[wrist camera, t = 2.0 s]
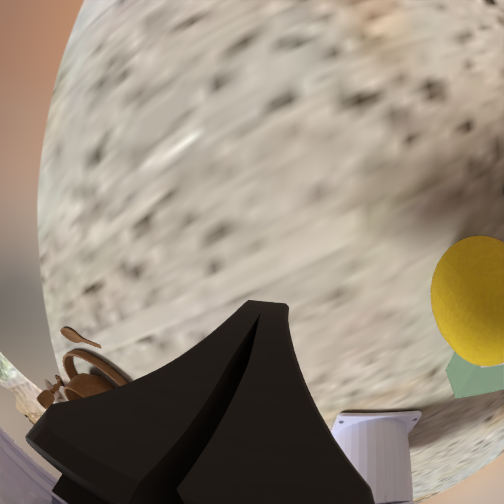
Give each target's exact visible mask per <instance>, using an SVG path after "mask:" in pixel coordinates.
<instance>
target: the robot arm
mask: <svg viewBox="0 0 504 504" xmlns="http://www.w3.org/2000/svg"><path fill="white" fill-rule="evenodd" d="M288 314H289V307H288V305H287V304H285V303H274V302H264V301H254V300H248V301H247V302H245V303H244V304H243V305H242V306H241V307H240V308H239V309H238V310H237V311H236V312H235V313H234V314H233V315H231V316H230V317H229V318H228V319H227V320H226V321H225V322H224V323H223V324H221V325H220V326H219V327H218V328H217V329H216V330H214V331H213V332H212V333H211V334H210V335H208V336H207V337H206V338H205V339H203V340H202V341H201V342H199V343H198V344H197V345H195V346H194V347H193V348H191V349H190V350H188V351H187V352H186V353H184V354H183V355H181V356H180V357H178V358H176V359H175V360H173V361H172V362H170V363H168V364H166V365H165V366H163V367H161V368H159V369H157V370H156V371H153V372H151V373H149V374H147V375H145V376H143V377H141V378H139V379H136V380H134V381H132V382H130V383H127V384H125V385H122V386H120V387H117V388H114V389H111V390H108V391H105V392H102V393H99V394H96V395H92V396H89V397H85V398H80V399H75V400H71V401H66V402H61V403H55V404H51V405H50V406H49V408H48V409H47V410H46V411H45V412H44V414H43V415H42V416H41V417H40V419H39V420H38V421H37V422H36V424H35V425H34V426H33V428H32V429H31V430H30V431H29V433H28V434H27V435H26V441H27V442H28V444H30V446H31V447H32V448H33V449H35V450H36V451H37V452H38V453H39V454H40V455H41V456H42V457H43V458H44V459H46V460H47V461H48V462H49V463H50V464H51V465H53V466H54V467H55V468H56V469H57V470H59V471H60V472H61V473H62V476H61V477H60V479H59V480H58V479H57V478H55V477H54V476H53V475H51V474H50V473H49V472H48V471H46V470H45V469H44V468H43V467H42V466H40V465H39V464H38V463H37V462H36V461H34V460H33V459H32V458H31V457H30V456H29V455H28V454H27V453H25V452H24V451H23V450H22V449H21V448H20V447H19V446H18V445H17V444H16V443H15V442H14V440H13V439H12V438H11V437H10V436H9V435H8V434H7V433H6V432H5V431H4V430H3V429H2V428H1V427H0V504H414V501H413V489H412V472H411V460H410V451H409V442H408V434H409V433H410V431H411V430H412V429H413V427H414V426H415V425H416V423H417V422H418V420H419V419H420V418H421V416H422V412H421V411H407V412H389V413H340V414H338V415H337V417H336V420H335V423H334V425H333V428H332V430H331V432H330V430H329V428H328V426H327V425H326V423H325V421H324V419H323V418H322V416H321V414H320V413H319V411H318V409H317V407H316V405H315V403H314V400H313V398H312V396H311V394H310V392H309V390H308V387H307V385H306V383H305V380H304V378H303V375H302V372H301V370H300V367H299V364H298V361H297V358H296V354H295V351H294V347H293V343H292V339H291V335H290V330H289V323H288Z"/></svg>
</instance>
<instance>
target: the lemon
mask: <svg viewBox="0 0 504 504" xmlns="http://www.w3.org/2000/svg"><path fill="white" fill-rule="evenodd" d="M431 304H432V310H433V314H434V317H435V320H436V323H437V326H438V328H439V330H440V332H441V334H442V335H443V337H444V338H445V340H446V341H447V342H448V344H449V345H450V346H451V347H452V349H453V350H454V351H455V352H456V353H457V354H458V355H459V356H460V357H462V358H463V359H465V360H466V361H468V362H470V363H472V364H475V365H478V366H494V365H499V364H502V363H504V242H502V241H500V240H498V239H495V238H491V237H487V236H471V237H467V238H465V239H463V240H460V241H458V242H457V243H455V244H454V245H452V246H451V247H450V248H449V249H448V250H447V251H446V252H445V253H444V255H443V256H442V258H441V259H440V261H439V262H438V264H437V266H436V269H435V272H434V274H433V278H432V284H431Z"/></svg>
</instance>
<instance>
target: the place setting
mask: <svg viewBox="0 0 504 504" xmlns="http://www.w3.org/2000/svg"><path fill="white" fill-rule="evenodd" d="M60 331H61V333H62V334H63V335H64V336H65V337H66V338H67V339H69V340H70V341H72V342H75V343H79V342H84V343H87V344H90V345H93V346H95V347H98V348H101V346H100V345H99V344H97V343H94V342H92V341H89V340H86V339H84V338H82V337H81V336H80V335H79V334H78V333H77V332H75V331H74V330H72V329H70V328H62V329H61V330H60ZM73 356H76V357H79V358H82V359H84V360H86V361H88V362H89V363H91V364H93V365H94V366H96V367H97V368H99V369H100V370H101V371H103V372H104V373H105V374H107V375H108V376H109V377H110V378H111V379H113V380H114V381H115V382H116V383H117V384H118V385H119V386H122V385H125V384H127V383H128V382H127V381H126V380H125V379H124V378H123V377H122V376H121V375H120V374H119V373H118V372H117V371H116V370H114V369H113V368H112V367H111V366H109V365H108V364H107V363H105V362H104V361H102V360H101V359H99V358H98V357H96V356H94V355H92V354H90V353H88V352H85V351H82V350H72V351H69V352H68V353H67V354H65V355H64V357H63V366H64V369H65V371H66V373H67V375H68V377H69V379H70V380H71V381H70V382H69V383H68V384H67V385H66V386H65V385H64V383H63V380H62V378H61V377H60V376H58V375H55V378H56V380H57V384H54V386H53V388H52V389H51V390H50V391H51V392H50V391H49V390H44V391H43V392H41V393H40V395H39V396H38V397H37V398H36V399H37V401H38V402H39V403H40V404H41V405H42V406H43V407H44V408H45V409H48V408H49V406H50V405H51V404H53V402H54V400H55V397H54V395H53V394H55V392H56V391H58V390H59V388H60V386H63V387H64V393H65V395H66V397H67V399H68V400H69V401H71V400H75V399H80V398H85V397H89V396H92V395H96V394H99V393H102V392H105V391H108V390H111V389H114V387H113V386H112V385H111V384H110V383H109V382H108V381H107V380H105V379H104V378H102V377H101V376H99V375H96V374H93V375H90V374H86V373H81V374H77V373H76V371H75V369H74V366H73ZM52 393H53V394H52Z"/></svg>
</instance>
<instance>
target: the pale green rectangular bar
mask: <svg viewBox="0 0 504 504" xmlns="http://www.w3.org/2000/svg"><path fill="white" fill-rule="evenodd" d="M446 373H447V376H448V378H449V381H450V384H451V387H452V390H453V393H454V396H455V399H456V398H463V397H469V396H475V395H480V394H485V393H490V392H495V391H499V390H504V363H502V364H499V365H494V366H478V365H475V364H472V363H470V362H468V361H466V360H465V359H463V358H462V357H460V356H459V355H458V354H457V353H456V352H455V353H454V355H453V357H452V359H451V361H450V363H449V365H448V367H447V369H446Z"/></svg>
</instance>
